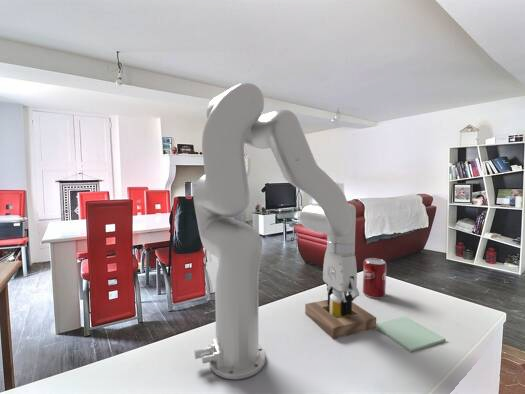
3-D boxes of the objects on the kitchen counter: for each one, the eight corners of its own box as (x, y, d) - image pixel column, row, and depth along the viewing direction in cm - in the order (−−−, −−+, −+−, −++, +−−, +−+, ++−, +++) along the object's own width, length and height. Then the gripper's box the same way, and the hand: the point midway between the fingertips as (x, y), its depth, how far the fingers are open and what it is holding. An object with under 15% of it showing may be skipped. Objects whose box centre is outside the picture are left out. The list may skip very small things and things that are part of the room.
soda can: (366, 299, 95) (367, 264, 94) (360, 290, 102) (361, 257, 101) (388, 299, 94) (390, 264, 93) (380, 290, 102) (381, 258, 101)
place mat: (410, 351, 67) (410, 349, 67) (373, 326, 78) (373, 324, 78) (445, 340, 71) (445, 338, 71) (405, 318, 82) (405, 316, 82)
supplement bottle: (325, 317, 83) (326, 285, 82) (341, 314, 84) (341, 283, 84) (336, 327, 78) (337, 293, 77) (352, 323, 79) (353, 290, 79)
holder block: (332, 339, 72) (333, 327, 72) (305, 313, 85) (305, 304, 85) (376, 328, 77) (376, 317, 77) (343, 305, 90) (343, 296, 90)
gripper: (313, 241, 86) (312, 299, 87) (349, 257, 70) (347, 327, 71) (333, 239, 88) (332, 295, 90) (373, 254, 73) (371, 321, 74)
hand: (339, 308), depth 81 cm, fingers closed on supplement bottle, 5 cm apart
